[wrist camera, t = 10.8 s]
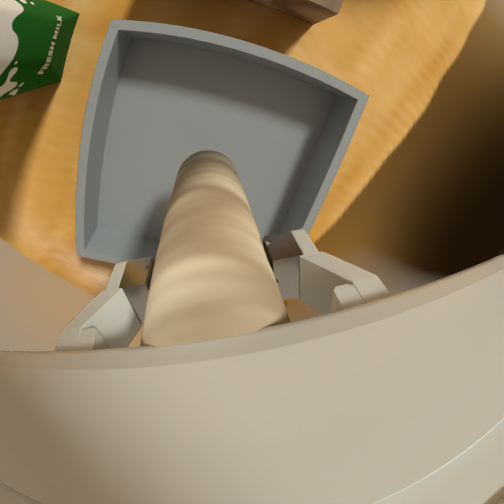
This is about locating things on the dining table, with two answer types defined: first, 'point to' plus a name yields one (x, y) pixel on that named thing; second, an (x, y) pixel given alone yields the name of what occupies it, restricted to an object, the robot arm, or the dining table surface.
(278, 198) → the tray
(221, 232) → the dowel
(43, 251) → the dining table surface
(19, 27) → the milk carton
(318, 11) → the socket block
